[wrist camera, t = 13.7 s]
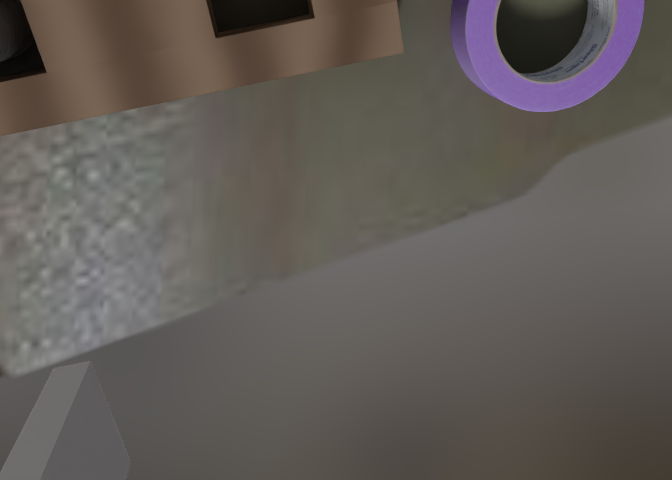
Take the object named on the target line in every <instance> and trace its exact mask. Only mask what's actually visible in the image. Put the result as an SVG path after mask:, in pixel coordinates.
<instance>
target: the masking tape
mask: <svg viewBox="0 0 672 480" xmlns="http://www.w3.org/2000/svg"><path fill="white" fill-rule="evenodd" d="M500 2H501V0H453V3H452V9H451V22H450V30H451V40H452V45H453V49H454V52H455V55H456V57H457V60H458V62H459V64H460V66H461V67H462V69H463V71H464V72H465V74H466V75H467V76H468V77H469V79H470V80H471V81H472V82H473V83H474V84H475V85H476V86H478V87H479V88H480V89H482V90H483V91H484V92H486V93H488V94H490V95H491V96H493V97H495V98H497V99H499V100H501V101H503V102H505V103H507V104H509V105H512V106H514V107H517V108H519V109H523V110H527V111H534V112H548V111H557V110H561V109H565V108H569V107H572V106H574V105H577V104H579V103H581V102H583V101H585V100H587V99H588V98H590V97H592V96H593V95H594V94H596V93H597V92H598V91H600V90H601V89H602V88H604V87H605V86H606V85H607V84H608V83H609V82H610V81H611V80H612V79H613V78H614V77H615V76H616V75H617V73H618V72H619V71H620V70H621V68H622V67H623V66H624V64H625V63H626V61H627V59H628V58H629V56H630V54H631V52H632V50H633V48H634V46H635V43H636V41H637V38H638V35H639V32H640V28H641V24H642V20H643V13H644V0H587V2H588V11H587V18H586V23H585V27H584V29H583V32H582V34H581V37H580V39H579V40H578V42H577V44H576V45H575V47H574V48H573V49H572V51H571V52H570V53H569V54H568V55H567V56H566V57H565V58H564V59H563V60H561V61H560V62H559V63H557V64H556V65H554V66H552V67H551V68H548V69H546V70H544V71H540V72H537V73H529V74H523V73H518V72H517V71H515V70H514V69H513V68H512V67H511V66H510V65H509V63H508V62H507V61H506V59H505V58H504V56H503V54H502V52H501V50H500V48H499V44H498V40H497V34H496V22H497V14H498V9H499V5H500Z"/></svg>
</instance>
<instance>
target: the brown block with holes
mask: <svg viewBox="0 0 672 480" xmlns="http://www.w3.org/2000/svg"><path fill="white" fill-rule="evenodd" d="M21 3H22V5H23V8H24V11H25V14H26V16H27V19H28V22H29V25H30V28H31V30H32V33H33V36H34V39H35V41H36V44H37V47H38V50H39V52H40V55H41V58H42V61H43V63H44V66H45V68H41V69H36V70H31V71H26V72H21V73H17V74H12V75H7V76H2V77H0V136H4V135H9V134H13V133H18V132H23V131H28V130H33V129H38V128H42V127H47V126H52V125H57V124H62V123H67V122H71V121H76V120H81V119H86V118H91V117H96V116H100V115H105V114H110V113H115V112H120V111H125V110H129V109H134V108H139V107H144V106H149V105H154V104H158V103H163V102H168V101H173V100H178V99H183V98H187V97H192V96H197V95H202V94H207V93H212V92H216V91H221V90H226V89H231V88H236V87H241V86H245V85H250V84H255V83H260V82H265V81H270V80H274V79H279V78H284V77H289V76H294V75H299V74H303V73H308V72H313V71H318V70H323V69H328V68H332V67H337V66H342V65H347V64H352V63H357V62H361V61H366V60H371V59H376V58H381V57H386V56H390V55H395V54H400V53H404V51H403V43H402V36H401V28H400V21H399V13H398V6H397V0H307V4H308V9H309V14H307V15H302V16H297V17H292V18H287V19H282V20H277V21H272V22H268V23H263V24H258V25H253V26H248V27H243V28H238V29H233V30H228V31H223V32H219V31H218V27H217V23H216V19H215V15H214V11H213V7H212V3H211V0H21Z"/></svg>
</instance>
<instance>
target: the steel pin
mask: <svg viewBox="0 0 672 480" xmlns="http://www.w3.org/2000/svg"><path fill="white" fill-rule="evenodd" d="M33 40H34V36H33V33H32V30H31V28H30V25H29V22H28V19H27V16H26V14H25V11H24V8H23V5H22V3H21V0H0V62H1V61H4V60H7V59H10V58H12V57H15V56H18V55H20V54H22V53H24V52H25V51H26V50H27V49H28V48H29V47H30V46H31V44H32V42H33Z"/></svg>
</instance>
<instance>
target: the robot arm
mask: <svg viewBox="0 0 672 480" xmlns="http://www.w3.org/2000/svg"><path fill="white" fill-rule="evenodd" d="M130 463H131V462H130V459H129V457H128V454H127V451H126V449H125V447H124V444H123V442H122V439H121V436H120V434H119V431H118V429H117V426H116V424H115V421H114V419H113V416H112V414H111V411H110V408H109V406H108V403H107V401H106V399H105V396H104V393H103V391H102V388H101V386H100V383H99V381H98V379H97V376H96V373H95V371H94V368H93V366H92V363H91V361H87V362H82V363H77V364H72V365H68V366H63V367H58V368H53V370H52V372H51V374H50V376H49V378H48V380H47V382H46V384H45V386H44V388H43V390H42V392H41V394H40V396H39V398H38V400H37V402H36V404H35V406H34V407H33V410H32V411H31V413H30V415H29V417H28V419H27V421H26V423H25V425H24V427H23V429H22V431H21V433H20V435H19V437H18V439H17V441H16V443H15V445H14V447H13V449H12V450H11V452H10V454H9V456H8V458H7V460H6V462H5V464H4V466H3V468H2V470H1V472H0V480H126V478H127V475H128V471H129V467H130Z"/></svg>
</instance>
